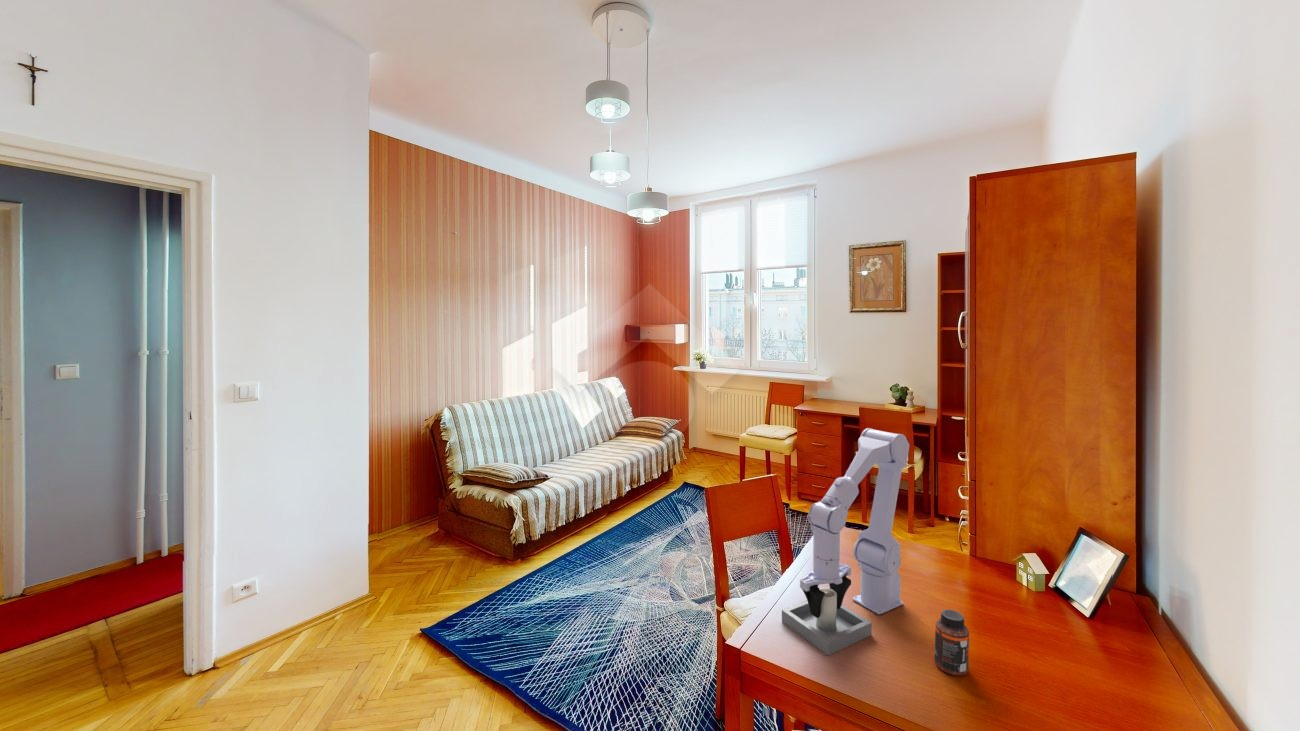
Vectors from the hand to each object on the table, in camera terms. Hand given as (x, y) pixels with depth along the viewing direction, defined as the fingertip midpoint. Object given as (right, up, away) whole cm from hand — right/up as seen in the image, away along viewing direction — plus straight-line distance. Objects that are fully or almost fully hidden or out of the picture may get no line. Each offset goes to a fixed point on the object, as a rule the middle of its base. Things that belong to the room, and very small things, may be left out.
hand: (825, 611), depth 115 cm
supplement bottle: (+21, -5, -13) cm, 25 cm away
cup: (0, -3, 0) cm, 3 cm away
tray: (0, -4, 0) cm, 4 cm away
